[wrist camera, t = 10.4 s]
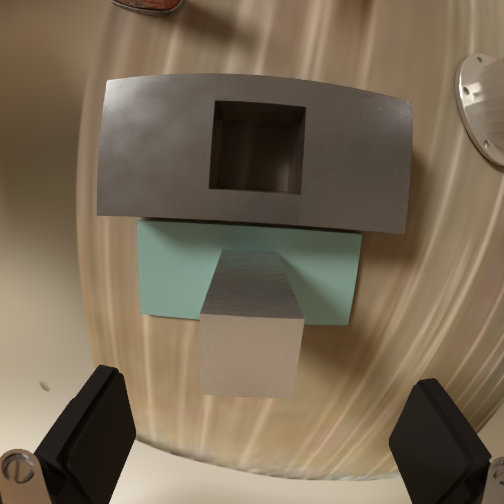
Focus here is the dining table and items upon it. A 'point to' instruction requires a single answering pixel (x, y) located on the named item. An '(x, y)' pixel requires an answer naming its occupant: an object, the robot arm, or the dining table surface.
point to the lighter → (151, 6)
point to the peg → (250, 328)
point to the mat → (252, 239)
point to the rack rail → (255, 110)
